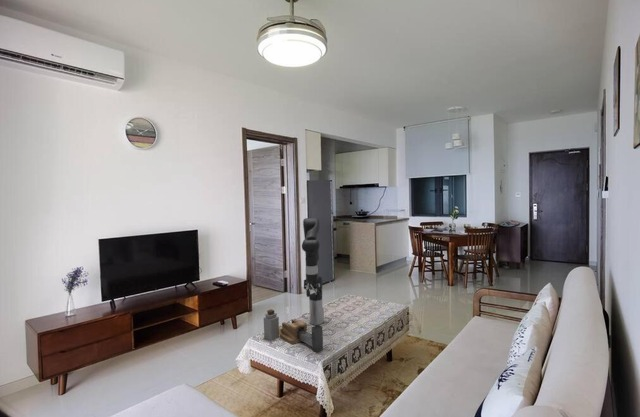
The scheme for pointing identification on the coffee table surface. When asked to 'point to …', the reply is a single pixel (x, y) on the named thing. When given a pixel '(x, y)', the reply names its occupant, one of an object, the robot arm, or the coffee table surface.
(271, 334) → the perfume bottle
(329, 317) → the coffee table surface
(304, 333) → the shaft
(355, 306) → the coffee table surface
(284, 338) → the guide block
